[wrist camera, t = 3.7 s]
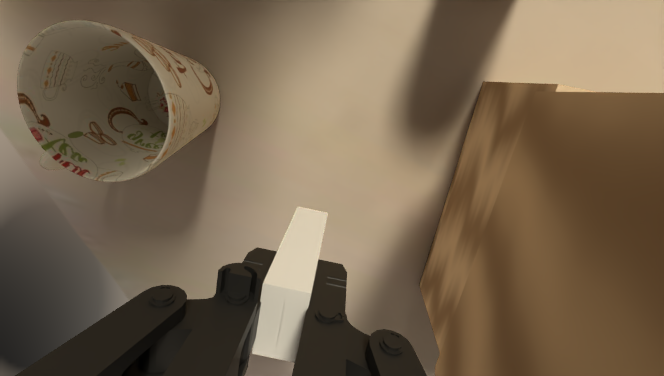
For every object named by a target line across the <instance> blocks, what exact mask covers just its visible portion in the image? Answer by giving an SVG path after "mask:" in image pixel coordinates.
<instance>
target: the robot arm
mask: <svg viewBox="0 0 664 376" xmlns="http://www.w3.org/2000/svg"><path fill="white" fill-rule="evenodd" d="M327 215H328V213H327V212H322V211H317V210H312V209H308V208H303V207H297V209H296V211H295V214H294V216H293V218H292V220H291V222H290V225H289V227H288V229H287V231H286V233H285V236H284V238H283V240H282V242H281V244H280V247H279V249H278V251H277V252H276V251H271V250H267V249H262V248H256V249H254V250H252V251H250V252H249V253H248V254H247V256H246V257H245V259H244V261H243V262H242V263H232V264H228V265H225V266H223V267H222V268H221V269H219V270H218V279H217V288H216V294H215V295H214V297H212V298H208V299H193V300H187V295H186V293H185V291H184V290H182V289H180V288H179V287H175V286H171V285H161V286H156V287H152V288H150V289H148V290H146V291H144V292H142V293H141V294H139V295H138V296H136V297H134V298H133V299H131V300H130V301H128V302H127V303H125V304H124V305H122V306H121V307H119V308H118V309H116V310H115V311H113V312H112V313H110V314H109V315H107V316H106V317H104V318H102V319H101V320H99V321H98V322H96V323H95V324H93V325H92V326H90V327H89V328H87V329H86V330H84V331H83V332H81V333H80V334H78V335H77V336H75V337H74V338H72V339H70V340H69V341H67V342H66V343H64V344H63V345H61V346H60V347H58V348H57V349H55V350H54V351H52V352H51V353H49V354H48V355H46V356H45V357H43V358H42V359H40V360H38V361H37V362H35V363H34V364H32V365H31V366H29V367H28V368H26V369H25V370H23V371H22V372H20V373H19V374H17V375H16V376H244V375H245V373H246V370H247V367H248V361H249V355H250V352H251V349H252V347H253V350H252V354H256V355H260V356H265V357H270V358H275V359H279V360H284V361H289V362H294V363H295V365H294V369H293V374H292V376H427V375H426V373H425V371H424V369H423V367H422V365H421V363H420V361H419V359H418V357H417V355H416V353H415V351H414V349H413V347H412V346H411V344H410V343H409V341H408V340H407V339H406V338H404V337H403V336H402V335H401V334H398V333H396V332H394V331H391V330H385V329H383V330H377V331H375V332H373V333H372V334H371V336H369V335H367V334H364V333H362V332H360V331H359V330H357V329H355V328H354V327H353V326H352V325H351V324H350V323H349V322H348V320H347V316H346V314H345V303H346V280H347V272H346V270H345V268H344V267H343V265H342V264H338V263H333V262H328V261H323V260H319V254H320V249H321V244H322V239H323V234H324V230H325V225H326V220H327Z"/></svg>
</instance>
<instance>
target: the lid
mask: <svg viewBox="0 0 664 376" xmlns="http://www.w3.org/2000/svg"><path fill="white" fill-rule="evenodd" d="M435 376H664V93H613V92H543V91H536V92H535V94H534V97H533V100H532V103H531V105H530V108H529V111H528V114H527V116H526V119H525V122H524V125H523V127H522V130H521V133H520V135H519V138H518V141H517V144H516V146H515V149H514V152H513V155H512V157H511V160H510V163H509V166H508V168H507V171H506V174H505V177H504V179H503V182H502V185H501V188H500V190H499V193H498V196H497V198H496V201H495V204H494V207H493V209H492V212H491V215H490V218H489V220H488V223H487V226H486V229H485V231H484V234H483V237H482V240H481V242H480V245H479V248H478V251H477V253H476V256H475V259H474V261H473V264H472V267H471V270H470V272H469V275H468V278H467V281H466V283H465V286H464V289H463V292H462V294H461V297H460V300H459V303H458V305H457V308H456V311H455V314H454V316H453V319H452V322H451V325H450V327H449V330H448V333H447V335H446V338H445V341H444V344H443V346H442V349H441V352H440V355H439V357H438V360H437V363H436V366H435Z"/></svg>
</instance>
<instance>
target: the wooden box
mask: <svg viewBox="0 0 664 376" xmlns="http://www.w3.org/2000/svg"><path fill="white" fill-rule="evenodd" d="M536 91H543V92H594V91H589V90H584V89H579V88H574V87H569V86H564V85H559V84H534V83H506V82H483V85H482V88H481V91H480V94H479V97H478V100H477V104H476V107H475V110H474V113H473V116H472V119H471V123H470V126H469V129H468V132H467V135H466V138H465V142H464V145H463V148H462V151H461V154H460V157H459V161H458V164H457V167H456V170H455V173H454V176H453V180H452V183H451V186H450V189H449V192H448V195H447V199H446V202H445V205H444V208H443V211H442V214H441V218H440V221H439V224H438V227H437V230H436V233H435V237H434V240H433V243H432V246H431V249H430V252H429V256H428V259H427V262H426V265H425V268H424V271H423V275H422V278H421V281H420V284H419V286H420V289H421V293H422V296H423V299H424V303H425V306H426V309H427V312H428V316H429V319H430V322H431V326H432V329H433V332H434V335H435V339H436V342H437V345H438V348H439V352H441V349H442V346H443V344H444V341H445V338H446V335H447V333H448V330H449V327H450V325H451V322H452V319H453V316H454V314H455V311H456V308H457V305H458V303H459V300H460V297H461V294H462V292H463V289H464V286H465V283H466V281H467V278H468V275H469V272H470V270H471V267H472V264H473V261H474V259H475V256H476V253H477V251H478V248H479V245H480V242H481V240H482V237H483V234H484V231H485V229H486V226H487V223H488V220H489V218H490V215H491V212H492V209H493V207H494V204H495V201H496V198H497V196H498V193H499V190H500V188H501V185H502V182H503V179H504V177H505V174H506V171H507V168H508V166H509V163H510V160H511V157H512V155H513V152H514V149H515V146H516V144H517V141H518V138H519V135H520V133H521V130H522V127H523V125H524V122H525V119H526V116H527V114H528V111H529V108H530V105H531V103H532V100H533V97H534V94H535V92H536Z"/></svg>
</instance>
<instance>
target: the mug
mask: <svg viewBox="0 0 664 376" xmlns="http://www.w3.org/2000/svg"><path fill="white" fill-rule="evenodd" d="M17 93H18V99H19V104H20V108H21V111H22V114H23V116H24V119H25V121H26V123H27V125H28V127H29V129H30V131H31V133H32V134H33V136H34V137H35V139H36V140H37V142H38V143H39V144H40V145H41V147H42V148H43V149H44V150H45V152H44V153H43V155H42V156H41V158H40V161H39V162H40V165H41V166H42V167H43V168H45V169H48V170H59V169H64V168H67V169H68V170H70V171H72V172H74V173H76V174H78V175H80V176H82V177H85V178H88V179H92V180H96V181H102V182H121V181H127V180H131V179H134V178H137V177H139V176H141V175H144V174H145V173H147V172H149V171H151V170H152V169H154V168H155V167H156V166H158V165H159V164H161V163H162V162H163V161H165V160H166V159H167V158H169V157H170V156H171V155H173V154H174V153H175V152H177V151H178V150H179V149H181V148H182V147H183V146H185V145H186V144H187V143H189V142H190V141H191V140H193V139H194V138H195V137H197V136H198V135H199V134H201V133H202V132H203V131H205V130H206V129H207V128H208V127H209V126H210V125H211V124H212V123H213V122H214V120H215V119H216V117H217V115H218V112H219V108H220V93H219V89H218V86H217V84H216V81H215V80H214V78H213V76H212V75H211V73H210V72H209V71H208V70H207V69H206V68H205V67H204V66H203V65H201V64H200V63H198V62H197V61H195V60H193V59H191V58H189V57H186V56H184V55H181V54H179V53H177V52H174V51H172V50H169V49H167V48H164V47H162V46H160V45H157V44H155V43H152V42H150V41H147V40H145V39H143V38H140V37H138V36H135V35H133V34H130V33H128V32H126V31H123V30H121V29H118V28H116V27H113V26H110V25H106V24H103V23H99V22H94V21H88V20H70V21H64V22H60V23H57V24H54V25H51V26H49V27H47V28H46V29H44V30H43V31H41V32H40V33H39V34H37V35H36V36H35V37H34V38H33V39H32V41H31V42H30V43H29V44H28V46H27V48H26V49H25V51H24V53H23V55H22V58H21V60H20V64H19V68H18V74H17Z"/></svg>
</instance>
